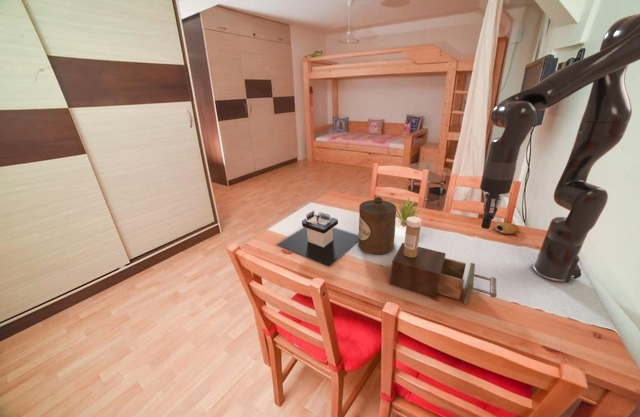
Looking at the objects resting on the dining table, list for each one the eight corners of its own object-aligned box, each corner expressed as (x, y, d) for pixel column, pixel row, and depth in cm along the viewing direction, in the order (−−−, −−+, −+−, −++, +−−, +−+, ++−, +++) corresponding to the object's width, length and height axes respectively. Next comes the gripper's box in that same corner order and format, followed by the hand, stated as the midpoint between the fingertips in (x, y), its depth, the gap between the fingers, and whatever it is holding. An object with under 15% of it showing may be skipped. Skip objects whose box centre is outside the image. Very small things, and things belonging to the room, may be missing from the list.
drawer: (492, 288, 85) (498, 269, 81) (492, 313, 76) (499, 292, 73) (427, 270, 94) (430, 252, 91) (421, 290, 85) (424, 271, 82)
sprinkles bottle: (419, 255, 88) (424, 219, 83) (410, 259, 86) (415, 223, 80) (408, 249, 92) (413, 214, 86) (400, 253, 90) (403, 218, 84)
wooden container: (357, 236, 120) (358, 191, 111) (390, 236, 119) (393, 190, 110) (359, 254, 106) (361, 205, 97) (396, 255, 105) (401, 205, 96)
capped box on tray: (362, 237, 119) (363, 210, 113) (329, 266, 100) (328, 236, 94) (313, 221, 134) (312, 197, 129) (277, 244, 115) (273, 217, 110)
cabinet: (441, 275, 93) (445, 253, 89) (435, 298, 83) (440, 274, 79) (400, 264, 100) (402, 242, 96) (390, 284, 90) (392, 261, 86)
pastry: (509, 226, 123) (512, 218, 121) (522, 233, 117) (525, 225, 115) (492, 228, 121) (494, 221, 120) (504, 235, 115) (506, 228, 114)
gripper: (515, 183, 69) (500, 240, 76) (511, 170, 79) (498, 221, 86) (482, 180, 72) (470, 234, 79) (483, 167, 83) (472, 216, 90)
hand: (485, 227), depth 83 cm, fingers closed
